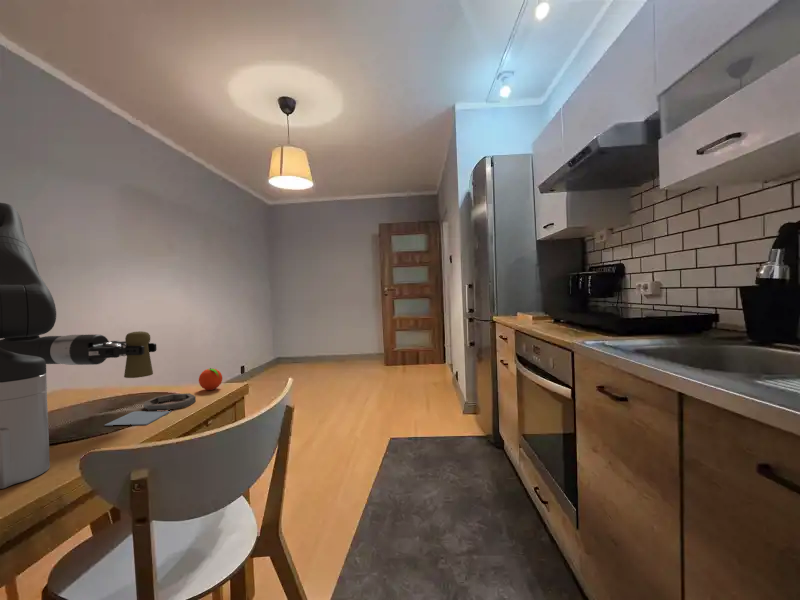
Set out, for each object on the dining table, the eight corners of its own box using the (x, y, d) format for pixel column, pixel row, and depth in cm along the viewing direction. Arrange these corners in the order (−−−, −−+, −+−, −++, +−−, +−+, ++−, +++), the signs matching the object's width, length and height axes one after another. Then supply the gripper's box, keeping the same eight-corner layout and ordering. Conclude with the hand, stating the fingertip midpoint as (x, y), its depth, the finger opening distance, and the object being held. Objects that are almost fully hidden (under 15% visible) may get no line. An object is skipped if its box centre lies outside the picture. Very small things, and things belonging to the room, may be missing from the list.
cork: (158, 372, 97) (158, 330, 97) (140, 378, 91) (139, 333, 91) (137, 372, 98) (136, 330, 97) (117, 377, 92) (116, 333, 91)
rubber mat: (146, 425, 90) (146, 423, 90) (104, 426, 89) (104, 424, 89) (171, 411, 100) (171, 410, 100) (133, 412, 99) (133, 411, 99)
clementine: (229, 388, 123) (228, 367, 123) (208, 394, 117) (208, 371, 117) (214, 386, 127) (214, 365, 127) (194, 390, 121) (193, 368, 121)
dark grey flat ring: (179, 410, 100) (179, 404, 100) (135, 411, 100) (135, 405, 100) (201, 398, 112) (201, 393, 112) (162, 399, 112) (162, 394, 112)
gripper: (54, 338, 87) (129, 337, 87) (102, 331, 101) (166, 331, 101) (55, 370, 87) (130, 369, 87) (103, 359, 101) (167, 358, 101)
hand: (149, 348), depth 94 cm, fingers closed on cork, 4 cm apart
